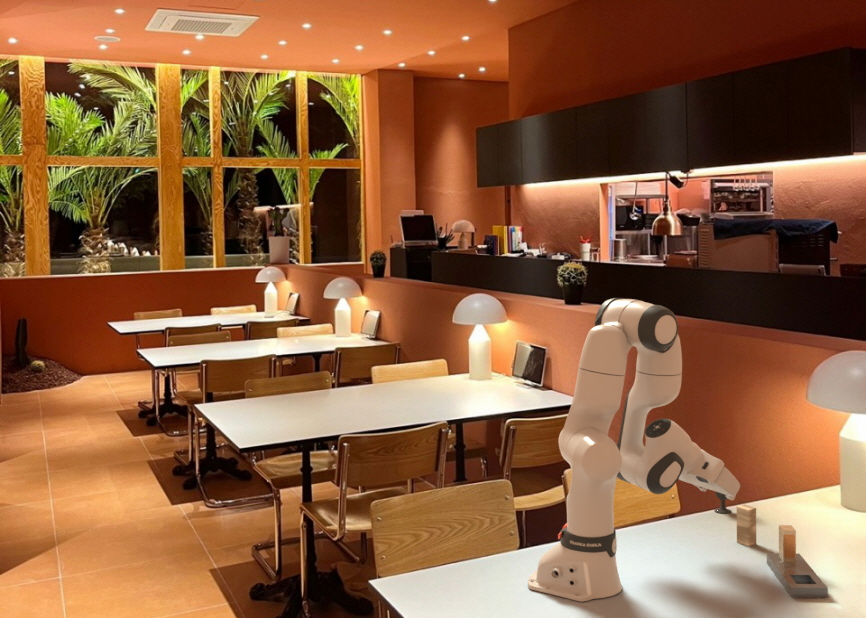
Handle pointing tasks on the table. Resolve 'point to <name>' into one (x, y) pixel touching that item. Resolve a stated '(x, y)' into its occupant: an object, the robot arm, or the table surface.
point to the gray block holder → (794, 568)
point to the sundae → (722, 504)
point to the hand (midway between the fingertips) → (718, 493)
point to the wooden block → (746, 525)
